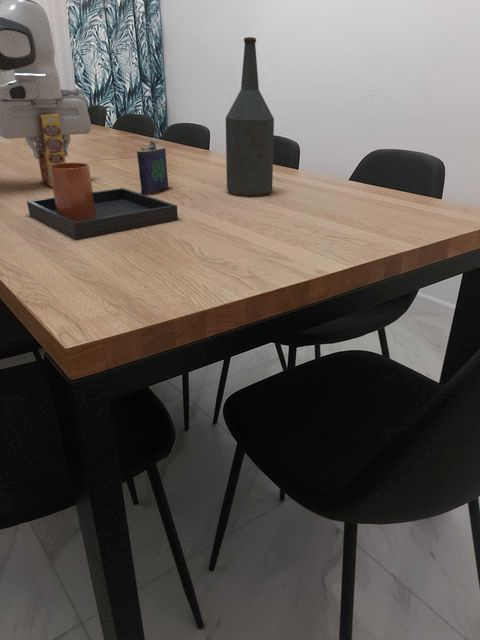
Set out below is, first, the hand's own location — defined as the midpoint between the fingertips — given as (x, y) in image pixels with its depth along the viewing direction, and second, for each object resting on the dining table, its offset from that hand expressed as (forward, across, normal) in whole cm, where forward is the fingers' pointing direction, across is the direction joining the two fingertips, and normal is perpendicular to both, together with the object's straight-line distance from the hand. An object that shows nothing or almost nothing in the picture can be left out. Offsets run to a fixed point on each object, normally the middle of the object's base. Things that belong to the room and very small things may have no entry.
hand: (51, 157), depth 115 cm
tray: (+6, +6, +35) cm, 36 cm away
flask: (+6, -14, +21) cm, 26 cm away
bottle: (+6, -30, +35) cm, 47 cm away
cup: (+5, +11, +35) cm, 37 cm away
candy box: (+6, 0, 0) cm, 6 cm away
